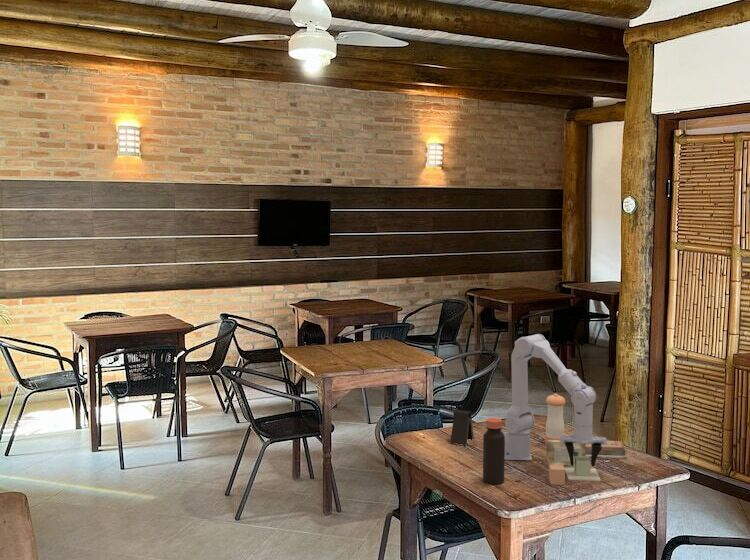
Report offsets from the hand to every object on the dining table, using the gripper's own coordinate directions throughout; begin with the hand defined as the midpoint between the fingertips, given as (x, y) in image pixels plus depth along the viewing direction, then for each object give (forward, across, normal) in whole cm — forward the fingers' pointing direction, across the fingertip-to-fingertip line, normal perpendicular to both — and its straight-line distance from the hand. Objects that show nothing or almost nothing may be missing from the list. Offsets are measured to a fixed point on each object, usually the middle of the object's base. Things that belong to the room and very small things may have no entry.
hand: (582, 465), depth 243 cm
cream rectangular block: (+2, -4, +10) cm, 11 cm away
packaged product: (+4, +9, +22) cm, 24 cm away
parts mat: (+3, 0, 0) cm, 3 cm away
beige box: (+3, -4, +10) cm, 11 cm away
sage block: (+3, 0, 0) cm, 3 cm away
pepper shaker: (+4, -5, +31) cm, 32 cm away
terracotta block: (+3, -9, -7) cm, 12 cm away
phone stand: (+4, -39, +31) cm, 50 cm away
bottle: (+4, -29, -8) cm, 30 cm away
